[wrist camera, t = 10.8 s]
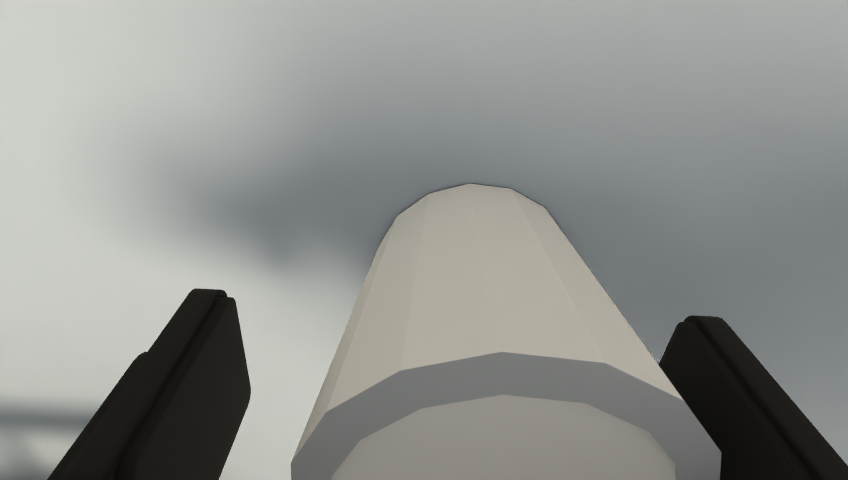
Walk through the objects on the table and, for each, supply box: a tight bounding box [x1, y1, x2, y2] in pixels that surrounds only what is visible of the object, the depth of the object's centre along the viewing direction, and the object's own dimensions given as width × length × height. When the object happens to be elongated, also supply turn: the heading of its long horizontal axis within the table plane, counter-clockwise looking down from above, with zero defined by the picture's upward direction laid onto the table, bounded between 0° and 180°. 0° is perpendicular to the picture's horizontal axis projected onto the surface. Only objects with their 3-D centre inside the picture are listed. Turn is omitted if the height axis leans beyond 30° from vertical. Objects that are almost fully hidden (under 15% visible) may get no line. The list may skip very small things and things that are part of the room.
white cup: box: [291, 184, 721, 480], centre depth 10 cm, size 7×7×7 cm
